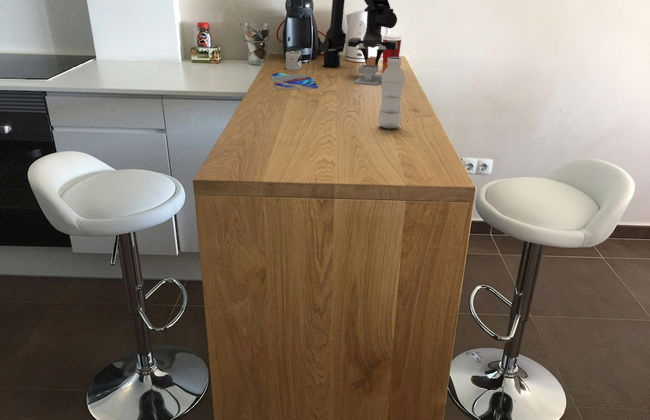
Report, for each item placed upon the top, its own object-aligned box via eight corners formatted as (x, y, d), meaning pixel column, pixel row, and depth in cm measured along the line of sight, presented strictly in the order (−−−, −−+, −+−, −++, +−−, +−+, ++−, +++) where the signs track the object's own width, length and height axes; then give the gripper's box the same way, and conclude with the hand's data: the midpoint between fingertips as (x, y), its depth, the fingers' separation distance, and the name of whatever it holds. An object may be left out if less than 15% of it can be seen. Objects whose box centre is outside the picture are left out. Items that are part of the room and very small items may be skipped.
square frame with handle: (366, 66, 233) (366, 55, 231) (381, 67, 231) (382, 57, 230) (358, 72, 220) (359, 62, 219) (375, 74, 219) (375, 63, 217)
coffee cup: (399, 70, 246) (402, 34, 240) (399, 74, 239) (402, 37, 233) (379, 69, 247) (382, 33, 241) (379, 73, 240) (381, 36, 233)
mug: (301, 70, 241) (301, 54, 238) (285, 70, 241) (285, 53, 238) (302, 66, 250) (302, 50, 247) (286, 65, 250) (286, 49, 247)
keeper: (353, 83, 221) (354, 68, 218) (363, 74, 236) (364, 60, 234) (376, 85, 219) (377, 70, 216) (385, 76, 234) (386, 62, 232)
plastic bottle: (375, 124, 170) (380, 55, 162) (398, 124, 171) (403, 56, 163) (379, 131, 165) (384, 60, 156) (402, 131, 165) (408, 60, 157)
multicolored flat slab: (270, 76, 231) (270, 71, 230) (307, 76, 234) (307, 71, 233) (276, 91, 208) (276, 85, 207) (318, 90, 211) (318, 85, 210)
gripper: (345, 25, 215) (343, 67, 222) (394, 29, 211) (391, 71, 217) (352, 22, 225) (350, 62, 232) (399, 25, 221) (396, 66, 227)
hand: (371, 66), depth 227 cm, fingers closed on square frame with handle, 3 cm apart
